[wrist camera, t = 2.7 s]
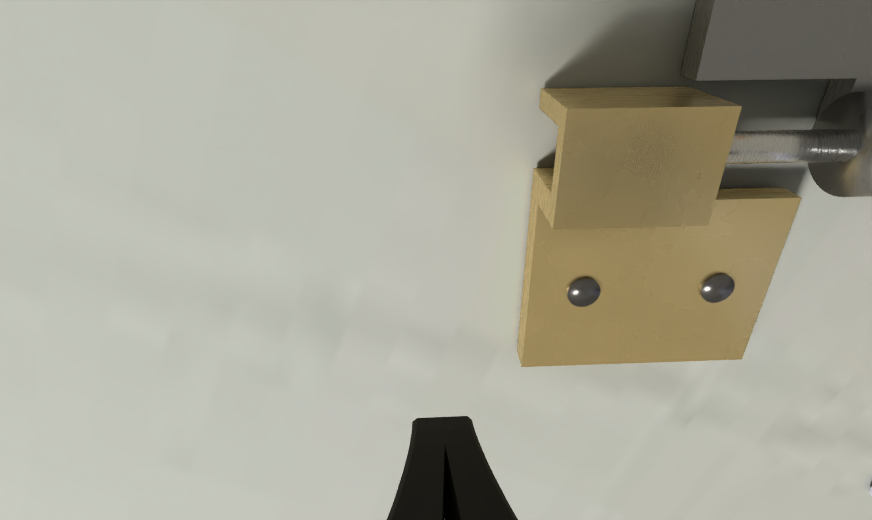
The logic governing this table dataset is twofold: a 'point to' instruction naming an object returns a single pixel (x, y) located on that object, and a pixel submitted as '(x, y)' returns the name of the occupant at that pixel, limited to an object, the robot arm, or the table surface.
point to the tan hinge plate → (644, 232)
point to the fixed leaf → (796, 59)
